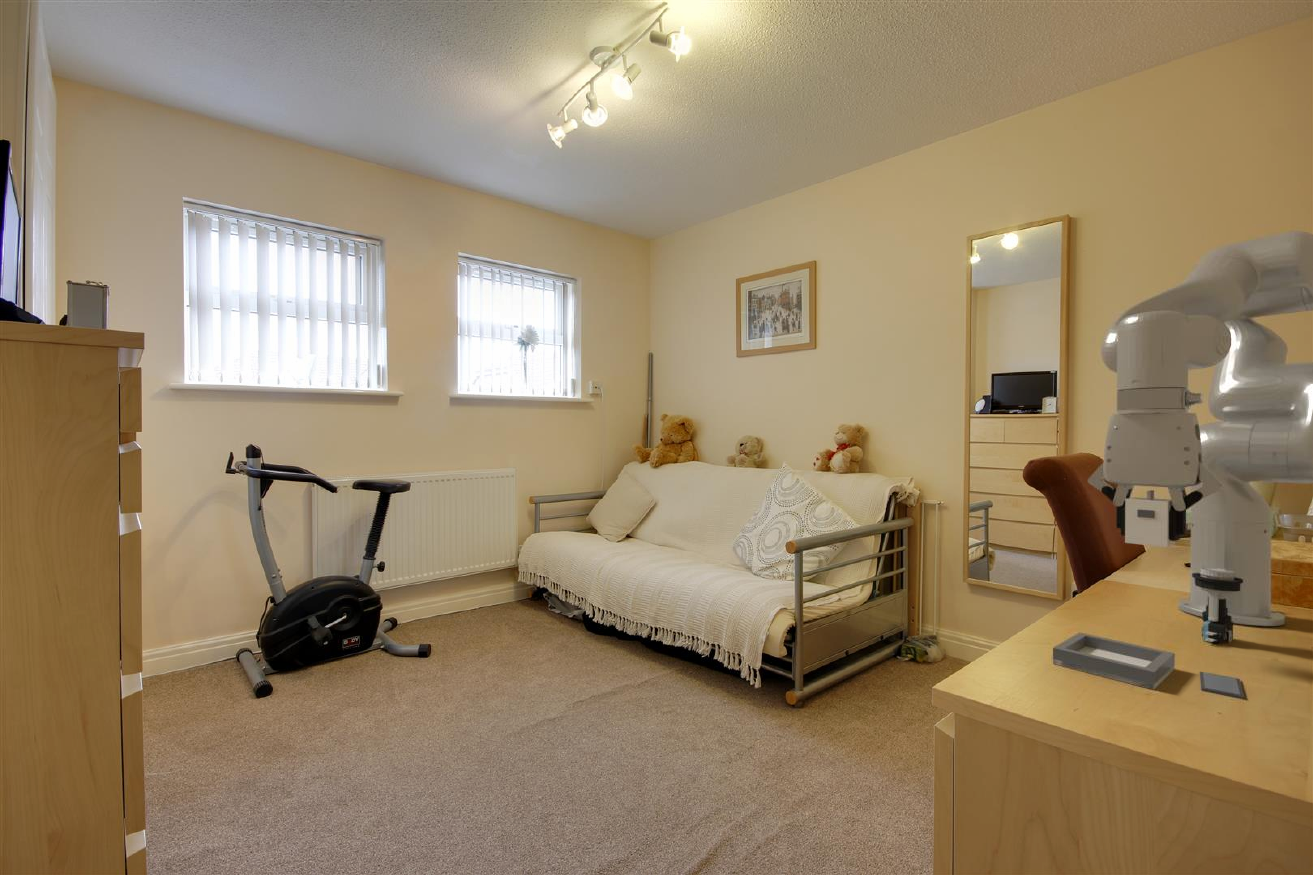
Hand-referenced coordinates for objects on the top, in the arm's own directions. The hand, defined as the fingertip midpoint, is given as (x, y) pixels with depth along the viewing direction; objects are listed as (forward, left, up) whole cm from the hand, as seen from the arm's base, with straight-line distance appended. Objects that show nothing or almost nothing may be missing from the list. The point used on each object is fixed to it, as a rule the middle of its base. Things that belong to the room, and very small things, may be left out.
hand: (1150, 535), depth 82 cm
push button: (-11, +5, -16) cm, 20 cm away
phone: (+10, +8, -16) cm, 20 cm away
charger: (0, 0, -1) cm, 1 cm away
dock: (+13, -1, -15) cm, 20 cm away
